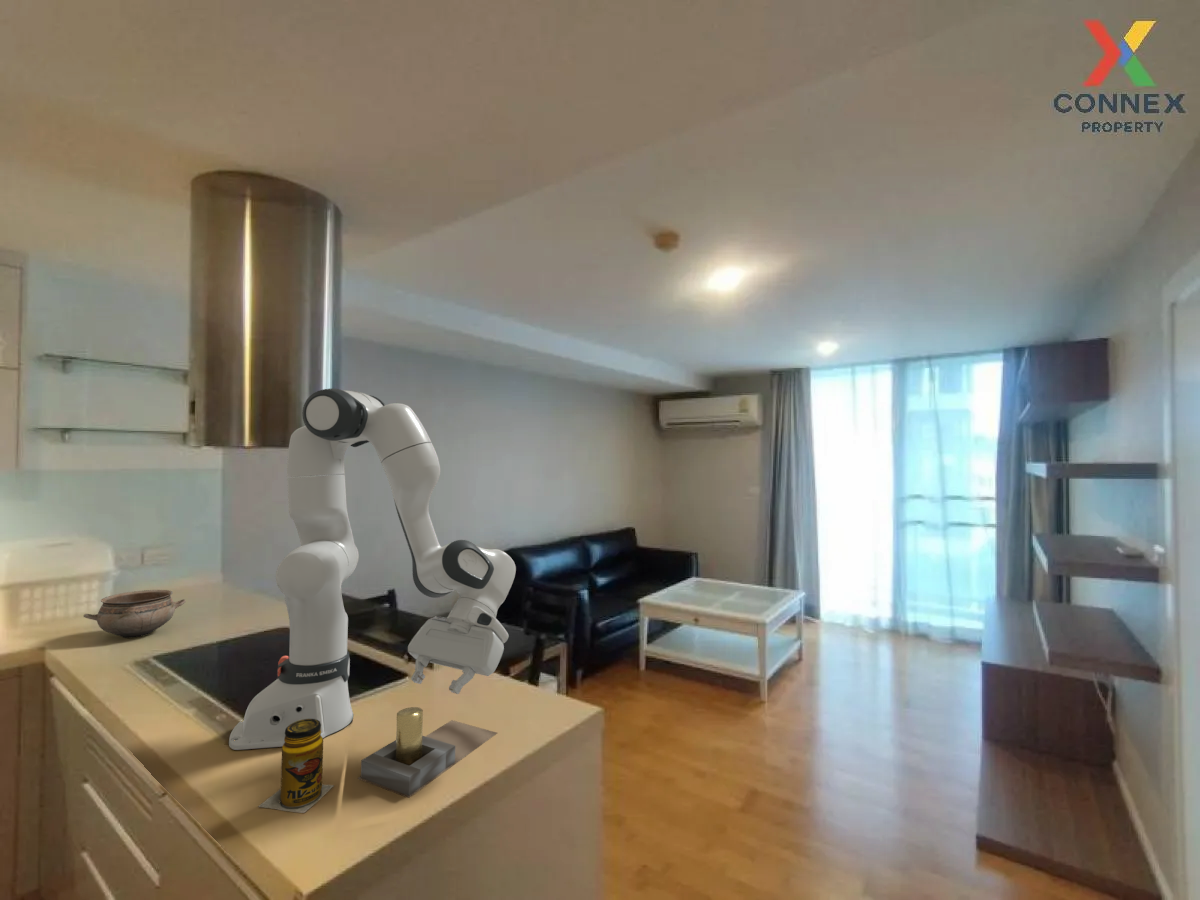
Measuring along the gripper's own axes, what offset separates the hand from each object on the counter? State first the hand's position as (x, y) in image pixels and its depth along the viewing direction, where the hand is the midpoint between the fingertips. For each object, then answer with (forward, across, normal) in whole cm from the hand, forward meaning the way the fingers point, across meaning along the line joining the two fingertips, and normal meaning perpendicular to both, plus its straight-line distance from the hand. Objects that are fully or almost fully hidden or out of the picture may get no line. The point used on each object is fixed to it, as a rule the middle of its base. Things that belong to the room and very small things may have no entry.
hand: (433, 686), depth 101 cm
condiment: (+23, -12, -4) cm, 26 cm away
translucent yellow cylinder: (+13, 0, +5) cm, 14 cm away
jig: (+9, 0, +10) cm, 13 cm away
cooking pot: (+2, -136, +18) cm, 137 cm away
